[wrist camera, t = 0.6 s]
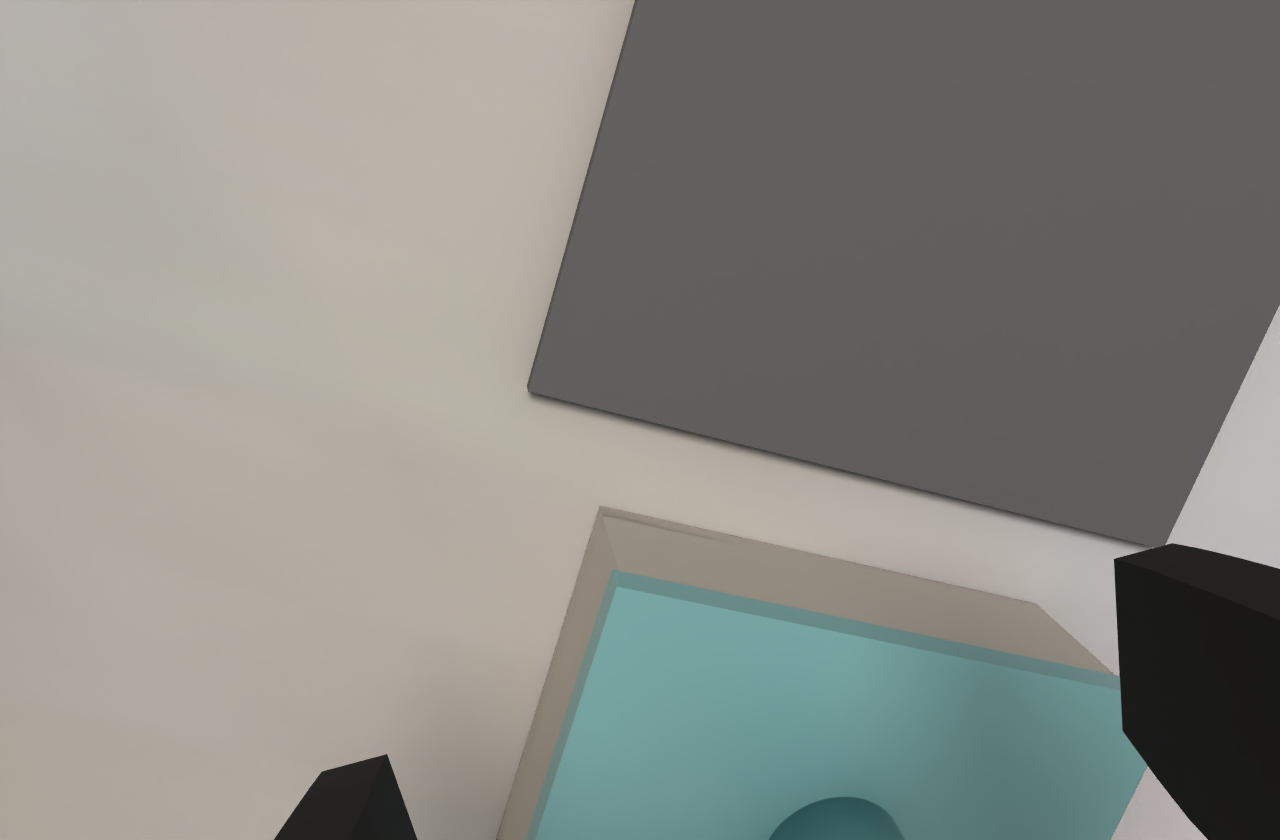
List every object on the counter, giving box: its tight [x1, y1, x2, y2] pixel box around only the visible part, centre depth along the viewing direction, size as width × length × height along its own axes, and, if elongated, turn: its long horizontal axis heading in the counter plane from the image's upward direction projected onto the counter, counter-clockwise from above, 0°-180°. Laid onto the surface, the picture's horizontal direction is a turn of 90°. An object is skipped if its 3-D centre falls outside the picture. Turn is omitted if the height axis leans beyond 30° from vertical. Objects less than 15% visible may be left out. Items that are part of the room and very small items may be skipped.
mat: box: [527, 0, 1280, 548], centre depth 18 cm, size 14×12×1 cm
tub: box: [496, 506, 1114, 840], centre depth 20 cm, size 10×8×4 cm
